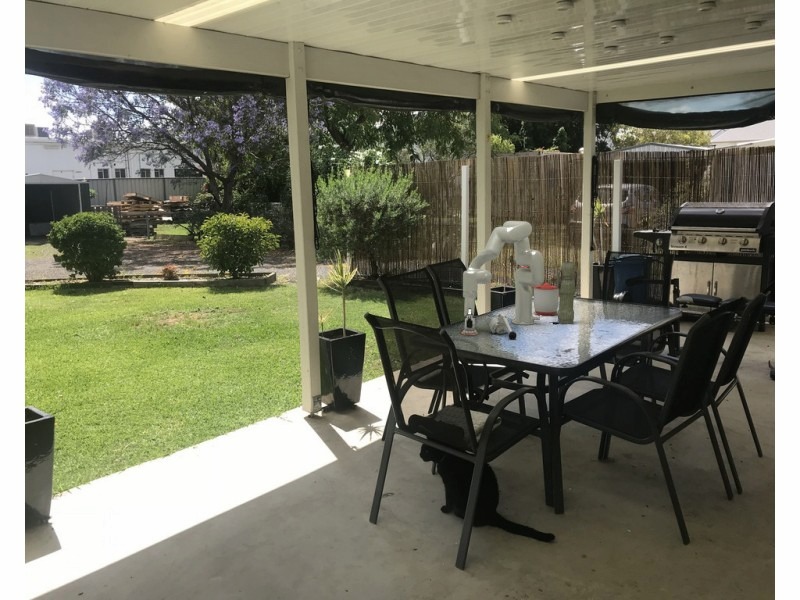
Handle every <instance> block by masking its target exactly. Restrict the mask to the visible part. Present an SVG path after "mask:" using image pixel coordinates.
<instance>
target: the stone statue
mask: <svg viewBox="0 0 800 600" xmlns="http://www.w3.org/2000/svg"><path fill="white" fill-rule="evenodd" d="M578 280H579V272H578V271H577V270H576V267H575V263H574V262H573V261H563V262H562V263H561V265H560V269H559V270H557V273H556V286H557V289H559V294H560V295H559V303H558V309H557V324H559V325H564V324H571V325H573V324H574V319H575V310H574V302H575V301H574V298H575V293H576V289H577V288H578V286H579V285H578V282H579V281H578Z"/></svg>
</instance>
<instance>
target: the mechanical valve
mask: <svg viewBox="0 0 800 600" xmlns="http://www.w3.org/2000/svg"><path fill="white" fill-rule="evenodd" d="M507 316H508V314H507V312H505V311H499V313H498V316H497V317H495V316H494V317H492V318H491V321H490V322H489V323H488V327H489V329H490V331H491V332H492V334H495V333H496V334H498V335H501V334H505V333H506V332H507V331H508V338H509V339H510V340H516V338H517V335H518V334H517V332H516V331H513V330H512V328H511V326H510V322H509V320H508V318H507Z"/></svg>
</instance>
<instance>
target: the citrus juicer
mask: <svg viewBox="0 0 800 600" xmlns="http://www.w3.org/2000/svg"><path fill="white" fill-rule="evenodd" d="M559 296H560V294H559V289H557V285H551V284H550V283H549V282H547V281H546V282H545V283H542V285H540V286H533V297H532V305H533V308H534V311H535V314H536V315H538V316H540V315H543V316H545V317H546V316H548V315H553V316H555V315H556V313H557V312H558V309H559Z"/></svg>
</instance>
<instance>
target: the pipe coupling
mask: <svg viewBox="0 0 800 600" xmlns="http://www.w3.org/2000/svg"><path fill="white" fill-rule="evenodd" d="M466 320H467V317H465V319H464V329H463V330H462V332H463V333H465V334H475V333H476V332H477V330H476V327H475V326H476V322H475V321H476V318H474V317H473V318H472V320H473V328H466Z"/></svg>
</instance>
